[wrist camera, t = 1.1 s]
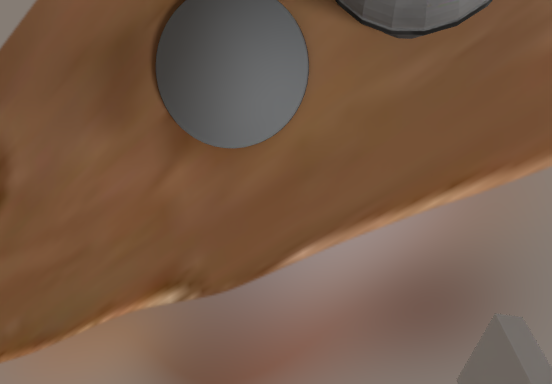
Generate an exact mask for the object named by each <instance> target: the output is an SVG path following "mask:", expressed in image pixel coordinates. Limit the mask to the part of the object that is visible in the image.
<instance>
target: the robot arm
mask: <svg viewBox="0 0 552 384" xmlns="http://www.w3.org/2000/svg"><path fill="white" fill-rule="evenodd" d="M457 382H458V384H552V368H551V366H550V364H549V362H548V360H547V359H546V357H545V355H544V353H543V352H542V350H541V348H540V346H539V345H538V343H537V341H536V340H535V338H534V336H533V334H532V333H531V331H530V329H529V327H528V326H527V324H526V322H525V320H524V319H523V317H518V316H510V315H502V314H495V315H494V316H493V318H492V320H491V321H490V323H489V325H488V327H487V328H486V330H485V332H484V334H483V335H482V337H481V339H480V341H479V342H478V344H477V346H476V347H475V349H474V351H473V352H472V354H471V356H470V358H469V359H468V361H467V363H466V365H465V366H464V368H463V370H462V371H461V373H460V375H459V377H458V378H457Z"/></svg>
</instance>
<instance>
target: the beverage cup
mask: <svg viewBox="0 0 552 384" xmlns="http://www.w3.org/2000/svg"><path fill="white" fill-rule="evenodd" d="M335 1H336V2H337V4H338V5H339V6H341V7H342V8H343V9H344V10H345V11H347V12H348V13H349V14H350V15H351V16H353V17H354V18H355V19H356V20H357V21H359V22H360V23H361V24H363V25H366V26H369V27H372V28H374V29H377V30H380V31H382V32H384V33H386V34H388V35H391V36H394V37H396V38H410V39H412V38H416V37H419V36H423V35H427V34H430V33H433V32H437V31H440V30H444V29H447V28H451V27H454V26H457V25H459V24H460V23H462V22H463V21H465V20H466V19H468V18H470V17H471V16H473V15H474V14H476V13H477V12H479V11H480V10H482V9H484V8H485V7H487V6H488V5H489V4H490V3H491V2H492V0H335Z"/></svg>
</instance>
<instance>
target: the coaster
mask: <svg viewBox="0 0 552 384" xmlns="http://www.w3.org/2000/svg"><path fill="white" fill-rule="evenodd" d="M308 75H309V59H308V51H307V47H306V43H305V39H304V37H303V34H302V32H301V29H300V28H299V26H298V24H297V22H296V20H295V19H294V18H293V16H292V15H291V14H290V12H289V11H288V10H287V9H286V8H285V7H284V6H283V5H282V4H281V3H280V2H278V1H277V0H186V1H185V2H184V3H183V4H181V5H180V6H179V7H178V8H177V10H176V11H175V12H174V13H173V15H172V16H171V17H170V19H169V21H168V22H167V24H166V26H165V28H164V30H163V32H162V35H161V38H160V41H159V44H158V49H157V55H156V77H157V83H158V88H159V91H160V95H161V97H162V100H163V102H164V104H165V106H166V108H167V110H168V112H169V113H170V115H171V116H172V117H173V119H174V120H175V121H176V122H177V124H178V125H179V126H180V127H181V128H182V129H183V130H185V131H186V132H187V133H188V134H190V135H191V136H193V137H194V138H196V139H198V140H200V141H202V142H204V143H206V144H209V145H213V146H216V147H222V148H241V147H247V146H250V145H254V144H257V143H260V142H262V141H265V140H267V139H268V138H270V137H272V136H273V135H275V134H276V133H277V132H279V131H280V130H281V129H282V128H283V127H284V126H285V125H286V124H287V123H288V122H289V121H290V120H291V118H292V117H293V116H294V114H295V113H296V111H297V109H298V108H299V106H300V104H301V102H302V99H303V97H304V94H305V91H306V87H307V82H308Z"/></svg>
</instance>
